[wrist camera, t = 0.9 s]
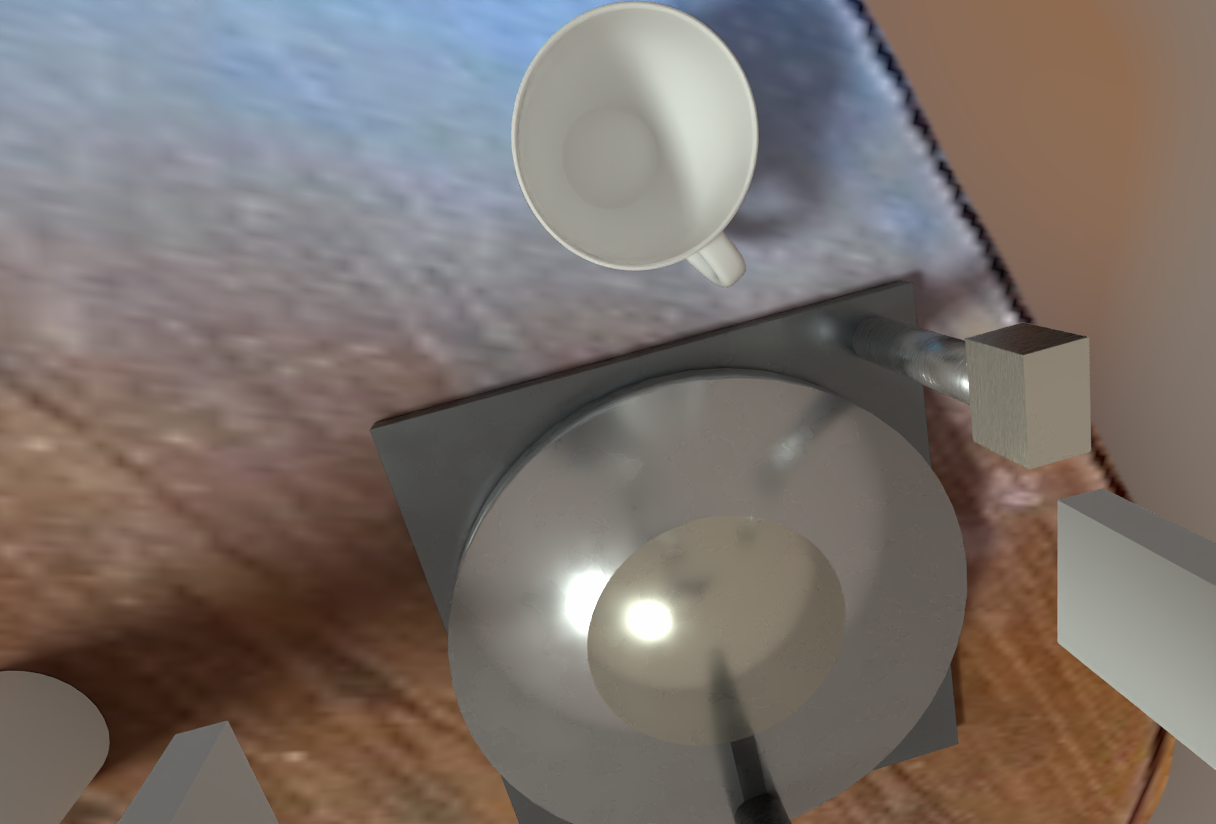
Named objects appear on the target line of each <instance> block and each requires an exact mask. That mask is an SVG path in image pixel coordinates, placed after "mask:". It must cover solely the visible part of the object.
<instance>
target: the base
mask: <svg viewBox="0 0 1216 824" xmlns="http://www.w3.org/2000/svg"><path fill="white" fill-rule="evenodd" d="M1089 367H1090V365H1089V337H1087V336H1082V335H1078V334H1073V333H1069V332H1064V331H1060V330H1055V329H1051V328H1046V327H1042V326H1037V325H1033V324H1028V323H1024V322H1023V323H1020V324H1016V325H1012V326H1009V327H1005V328H1001V329H998V330H994V331H991V332H987V333H983V334H980V335H976V336H973V337H969V338H965V341H964V340H961V339H957V338H954V337H950V336H947V335H943V334H940V333H937V332H933V331H930V330H926V329H923V328H919V327H917V320H916V310H915V300H914V289H913V283H912V282H906V281H901V280H900V281H896V282H893V283H889V284H885V285H882V286H878V287H874V288H870V289H867V290H863V291H859V292H856V293H852V294H848V295H845V296H841V297H837V298H834V299H830V300H826V301H822V302H819V303H815V304H811V305H808V306H804V307H800V308H797V309H793V310H789V311H786V312H782V313H778V314H774V315H771V316H767V317H763V318H760V319H756V320H752V321H749V322H745V323H741V324H738V325H734V326H730V327H726V328H723V329H719V330H715V331H712V332H708V333H704V334H701V335H697V336H693V337H690V338H686V339H682V340H678V341H675V342H671V343H667V344H664V345H660V346H656V347H653V348H649V349H645V350H642V351H638V352H634V353H630V354H627V355H623V356H619V357H616V358H612V359H608V360H605V361H601V362H597V363H594V364H590V365H586V366H582V367H579V368H575V369H571V370H568V371H564V372H560V373H557V374H553V375H549V376H545V377H542V378H538V379H534V380H531V381H527V382H523V383H520V384H516V385H512V386H509V387H505V388H501V389H497V390H494V391H490V392H486V393H483V394H479V395H475V396H472V397H468V398H464V399H461V400H457V401H453V402H449V403H446V404H442V405H438V406H435V407H431V408H427V409H424V410H420V411H416V412H413V413H409V414H405V415H401V416H398V417H394V418H390V419H387V420H383V421H379V422H376V423H374V424H373V426H372V427H371V429H370V432H371V434H372V437H373V440H374V442H375V445H376V448H377V450H378V453H379V456H380V458H381V461H382V463H383V466H384V469H385V471H386V474H387V477H388V479H389V482H390V484H391V487H392V490H393V492H394V495H395V498H396V500H397V503H398V506H399V508H400V511H401V513H402V516H403V519H404V521H405V524H406V527H407V529H408V532H409V535H410V537H411V540H412V542H413V545H414V548H415V550H416V553H417V556H418V558H419V561H420V563H421V566H422V569H423V571H424V574H425V577H426V579H427V582H428V585H429V587H430V590H431V592H432V595H433V598H434V600H435V603H436V606H437V608H438V611H439V614H440V616H441V619H442V621H443V624H444V627H445V629H446V632H447V635H449V617H450V611H451V605H452V600H453V594H454V588H455V582H456V577H457V571H458V565H459V562H460V559H461V556H462V553H463V550H464V547H465V544H466V541H467V538H468V535H469V533H470V531H471V529H472V527H473V525H474V523H475V521H476V519H477V517H478V515H479V513H480V511H481V509H482V507H483V505H484V503H485V502H486V500H487V499H488V497H489V496H490V495H491V493H492V492H493V490H494V489H495V487H496V486H497V484H498V483H499V481H500V480H501V479H502V477H503V476H504V475H505V473H506V472H507V471H508V470H509V469H510V468H511V467H512V466H513V465H514V464H515V462H516V461H517V460H518V459H519V458H520V457H521V456H522V455H523V454H524V452H525V451H526V450H527V449H528V448H530V447H531V446H532V445H533V444H534V443H535V442H537V441H538V440H539V439H540V438H541V437H542V436H544V435H545V434H546V433H547V432H548V431H549V430H551V429H552V428H553V427H554V426H555V425H557V424H559V423H560V422H562V421H563V420H565V419H566V418H568V417H569V416H571V415H572V414H574V413H575V412H577V411H578V410H580V409H581V408H583V407H584V406H586V405H588V404H590V403H592V402H594V401H597V400H599V399H601V398H603V397H605V396H607V395H609V394H611V393H613V392H615V391H617V390H619V389H622V388H625V387H628V386H631V385H634V384H637V383H640V382H643V381H646V380H649V379H651V378H655V377H660V376H665V375H670V374H675V373H680V372H684V371H691V370H704V369H717V368H733V369H751V370H762V371H767V372H772V373H777V374H782V375H787V376H792V377H795V378H798V379H801V380H804V381H807V382H810V383H813V384H816V385H818V386H821V387H824V388H826V389H828V390H830V391H832V392H834V393H835V394H837V395H839V396H841V397H843V398H845V399H847V400H849V401H851V402H853V403H854V404H856V405H858V406H860V407H861V408H863V409H865V410H867V411H868V412H870V413H872V414H874V415H875V416H876V417H878V418H879V419H880V420H882V421H883V422H885V423H886V424H887V425H889V426H890V427H891V428H893V429H894V430H896V431H897V432H898V433H900V434H901V435H902V436H903V437H904V438H905V439H906V440H907V441H908V442H909V443H910V444H911V445H912V446H913V447H914V448H915V449H916V450H917V451H918V452H919V453H920V454H921V455H922V457H923V458H924V459H925V461H926V462H927V463H928V465H929V466H930V468H931V461H930V451H929V441H928V431H927V421H926V411H925V400H924V390H923V385H924V386H927V387H929V388H931V389H934V390H936V391H938V392H941V393H943V394H945V395H948V396H950V397H952V398H954V399H957V400H959V401H961V402H964V403H966V404H968V405H970V410H971V423H972V436H973V441H974V442H976V443H978V444H980V445H982V446H984V447H986V448H988V449H990V450H992V451H993V452H995V453H997V454H999V455H1001V456H1003V457H1005V458H1007V459H1009V460H1011V461H1013V462H1015V463H1017V464H1019V465H1021V466H1023V467H1025V468H1027V469H1032V468H1036V467H1039V466H1043V465H1046V464H1050V463H1053V462H1056V461H1060V460H1063V459H1067V458H1070V457H1074V456H1077V455H1081V454H1084V453H1088V452H1091V424H1090V373H1089V372H1090V368H1089ZM956 744H958V734H957V723H956V713H955V703H954V693H953V683H952V673H951V663H950V666H949V668H948V671H947V673H946V675H945V678H944V680H943V681H942V683H941V685H940V687H939V689H938V690H937V692H936V694H935V696H934V698H933V700H932V701H931V703H930V705H929V706H928V707H927V709H926V710H925V712H924V713H923V715H922V716H921V717H920V719H919V720H918V722H917V723H916V724H915V726H914V727H913V729H912V730H911V731H910V732H909V733H908V734H907V735H906V736H905V738H904V739H903V740H902V741H901V742H900V743H899V744H898V745H897V747H896V748H895V749H894V750H893V751H892V752H891V753H890V754H889V755H888V756H887V757H885V758H884V759H883V760H882V761H881V762H880V763H879V764H878V765H877V766H876V767H875V768H874V769H872V770H875V769H879V768H882V767H885V766H888V765H891V764H895V763H898V762H901V761H904V760H908V759H911V758H914V757H917V756H921V755H924V754H927V753H930V752H934V751H937V750H940V749H943V748H947V747H950V746H953V745H956ZM872 770H871V771H872ZM501 777H502V779H503V782H504V785H505V787H506V790H507V793H508V795H509V798H510V800H511V803H512V806H513V808H514V811H515V814H516V816H517V819H518V822H519V824H573V823H571V822H568V821H566V820H564V819H561V818H559V817H557V816H555V815H554V814H552V813H550V812H549V811H547V810H545V809H544V808H542V807H540V806H538V805H537V804H535V803H533V802H532V801H531V800H529V799H528V798H527V797H526V796H524V795H523V794H522V793H521V792H519V791H518V790H517V789H516V788H514V787H513V786H512V785H511V784H510V783H509V782H508V781H507V780H506V779H505V778H504V777H503V776H502V775H501Z"/></svg>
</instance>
